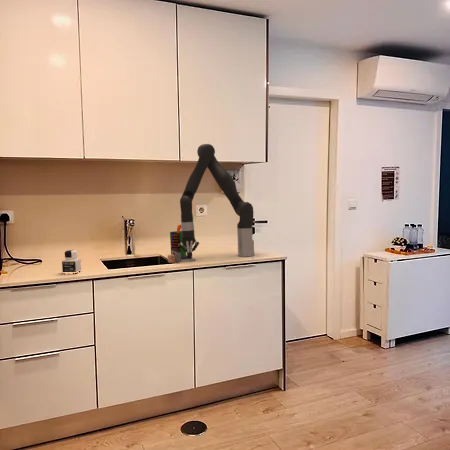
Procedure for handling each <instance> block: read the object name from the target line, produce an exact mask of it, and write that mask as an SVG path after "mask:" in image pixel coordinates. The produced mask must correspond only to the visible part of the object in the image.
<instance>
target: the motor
mask: <svg viewBox="0 0 450 450" xmlns="http://www.w3.org/2000/svg"><path fill="white" fill-rule="evenodd" d="M169 237H170V238H169V239H170V241H169V242H170V255H172V250H177V251H179V252H181V256H184V255H187V252H185V251H183V250H182V249H181V248H180V246H179V245H178V244H180V243H181V240H182V231H181V224H177V227H176V231H170V232H169ZM183 247H184V248H185V249H186V246H184V244H183Z"/></svg>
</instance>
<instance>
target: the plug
mask: <svg viewBox="0 0 450 450" xmlns="http://www.w3.org/2000/svg"><path fill="white" fill-rule="evenodd" d="M181 259H188V258H187V254H186V255H184V256H181ZM167 263H169V264H171V263H176V257H175V254H174V255H171V254H168V255H167Z"/></svg>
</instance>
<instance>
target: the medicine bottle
mask: <svg viewBox="0 0 450 450" xmlns="http://www.w3.org/2000/svg"><path fill="white" fill-rule="evenodd" d="M81 261H82V260H81V258H78V251H77V250H74V249H72V250H71V249H70V250H69V249H68V250H66V251H64V260H62V261H61V266H62V267H61V268H62V269H61V270H62V273H63V272H77V271H79V270H81V271H82V264H81Z"/></svg>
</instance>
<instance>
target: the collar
mask: <svg viewBox="0 0 450 450" xmlns="http://www.w3.org/2000/svg"><path fill="white" fill-rule="evenodd" d="M174 254H175V257H176V262H175V263H176V264H181V263H188V262H187V261H189V262H196V258H195V257H192V258H191V259H181V252H179V251H177V250H172V255H174ZM180 262H181V263H180Z"/></svg>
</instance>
